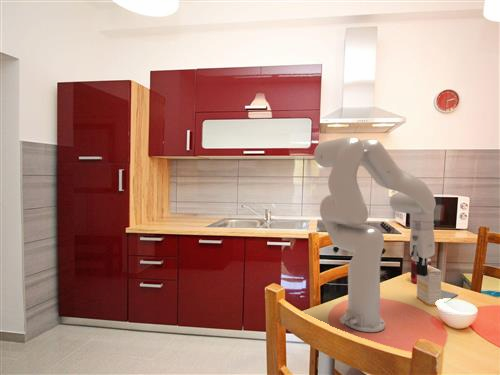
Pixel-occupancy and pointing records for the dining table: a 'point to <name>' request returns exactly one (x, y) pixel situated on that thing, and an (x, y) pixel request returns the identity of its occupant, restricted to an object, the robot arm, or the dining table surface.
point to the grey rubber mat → (447, 294)
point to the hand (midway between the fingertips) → (421, 274)
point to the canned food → (413, 270)
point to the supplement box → (429, 286)
